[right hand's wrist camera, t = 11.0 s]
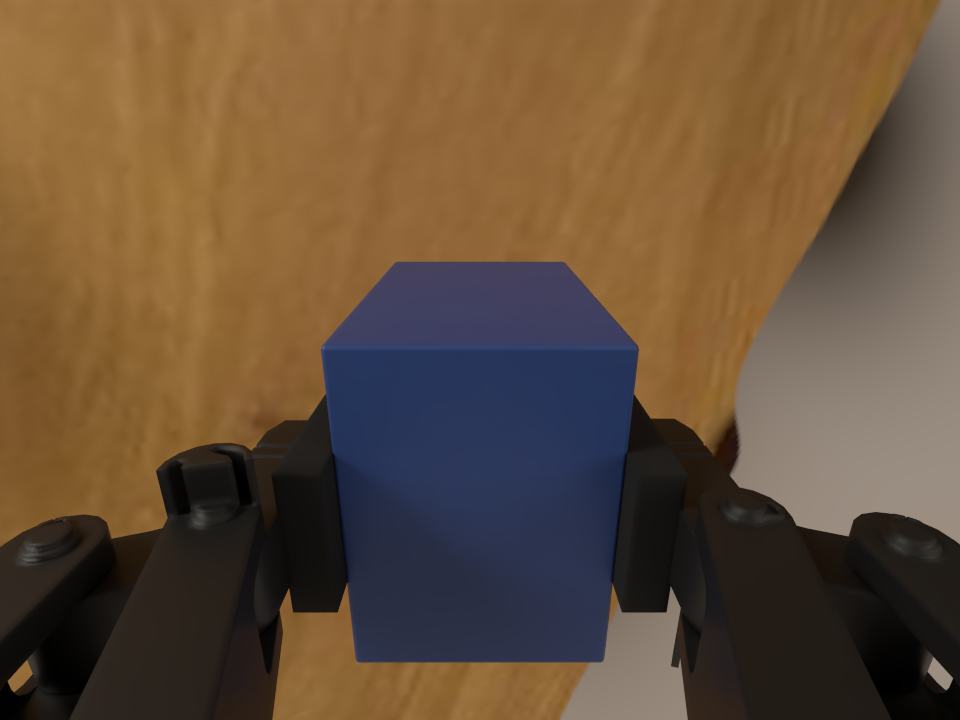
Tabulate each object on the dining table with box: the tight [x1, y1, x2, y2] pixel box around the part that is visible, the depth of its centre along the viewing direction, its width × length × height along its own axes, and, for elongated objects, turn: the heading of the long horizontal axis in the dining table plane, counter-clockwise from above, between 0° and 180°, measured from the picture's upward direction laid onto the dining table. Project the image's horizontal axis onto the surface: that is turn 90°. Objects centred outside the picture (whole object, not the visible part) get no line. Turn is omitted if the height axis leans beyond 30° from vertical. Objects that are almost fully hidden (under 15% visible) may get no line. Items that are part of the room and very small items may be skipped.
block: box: [321, 262, 639, 662], centre depth 12 cm, size 5×6×7 cm
